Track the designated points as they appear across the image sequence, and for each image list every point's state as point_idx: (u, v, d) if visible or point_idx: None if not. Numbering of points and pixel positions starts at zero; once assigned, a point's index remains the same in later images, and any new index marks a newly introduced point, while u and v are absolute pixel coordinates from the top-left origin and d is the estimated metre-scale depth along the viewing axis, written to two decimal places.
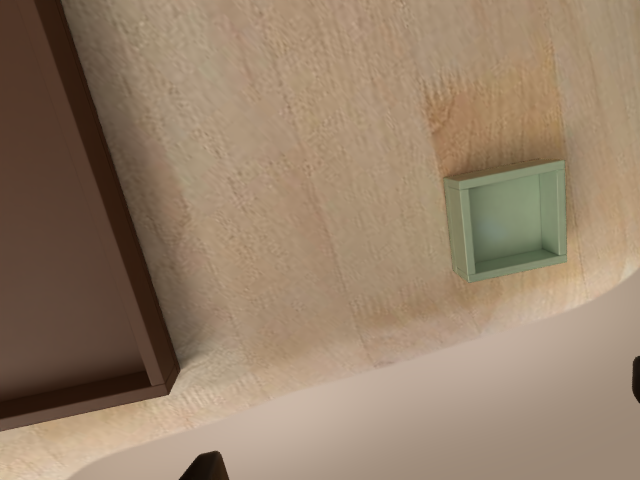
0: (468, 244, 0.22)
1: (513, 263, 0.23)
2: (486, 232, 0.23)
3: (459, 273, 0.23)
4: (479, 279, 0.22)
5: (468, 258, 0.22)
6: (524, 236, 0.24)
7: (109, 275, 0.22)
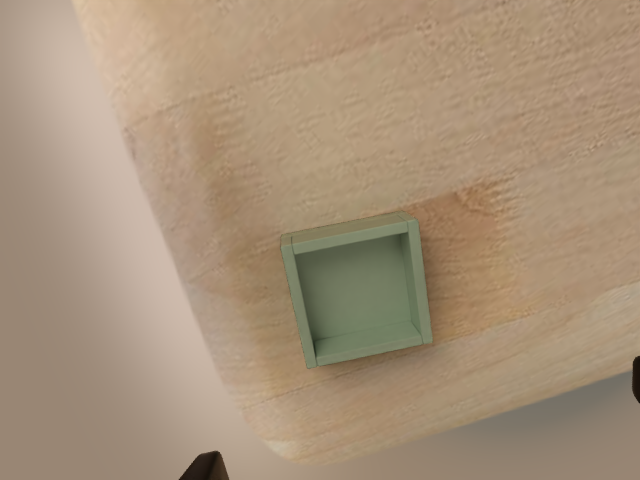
0: (335, 240, 0.16)
1: (304, 304, 0.17)
2: (336, 269, 0.18)
3: (285, 239, 0.17)
4: (285, 260, 0.16)
5: (315, 242, 0.16)
6: (329, 317, 0.19)
7: None
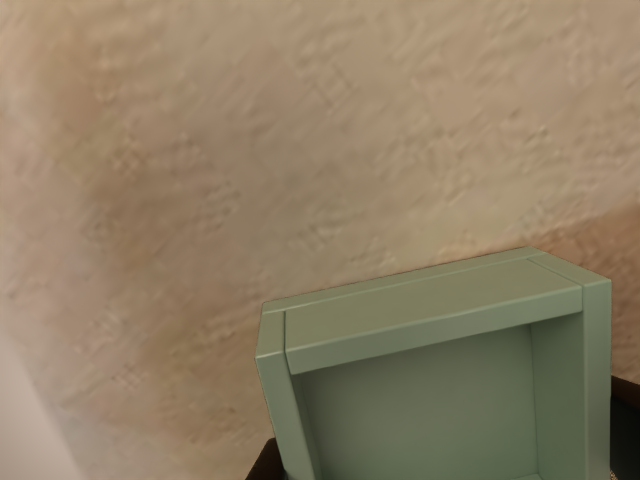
0: (398, 337, 0.06)
1: (316, 478, 0.07)
2: (386, 378, 0.08)
3: (269, 321, 0.07)
4: (269, 390, 0.06)
5: (347, 344, 0.06)
6: (369, 473, 0.09)
7: None
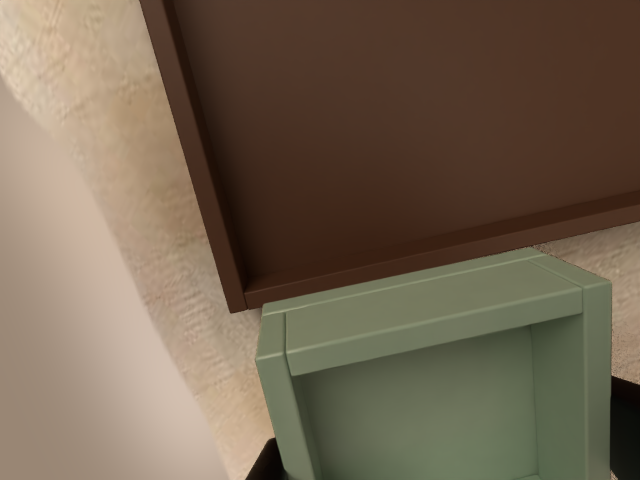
0: (398, 339, 0.06)
1: (317, 479, 0.07)
2: (386, 380, 0.08)
3: (269, 322, 0.07)
4: (269, 392, 0.06)
5: (347, 345, 0.06)
6: (369, 474, 0.09)
7: (374, 223, 0.18)
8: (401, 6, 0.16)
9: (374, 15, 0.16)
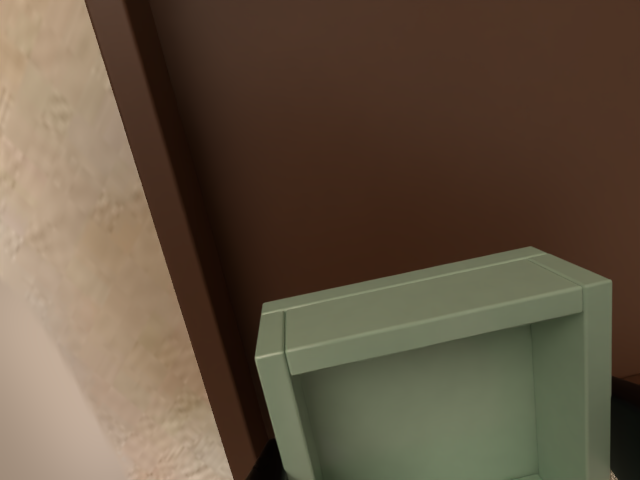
0: (398, 338, 0.06)
1: (316, 479, 0.07)
2: (386, 379, 0.08)
3: (269, 322, 0.07)
4: (269, 390, 0.06)
5: (347, 344, 0.06)
6: (369, 474, 0.09)
7: None
8: (508, 99, 0.11)
9: (469, 112, 0.11)
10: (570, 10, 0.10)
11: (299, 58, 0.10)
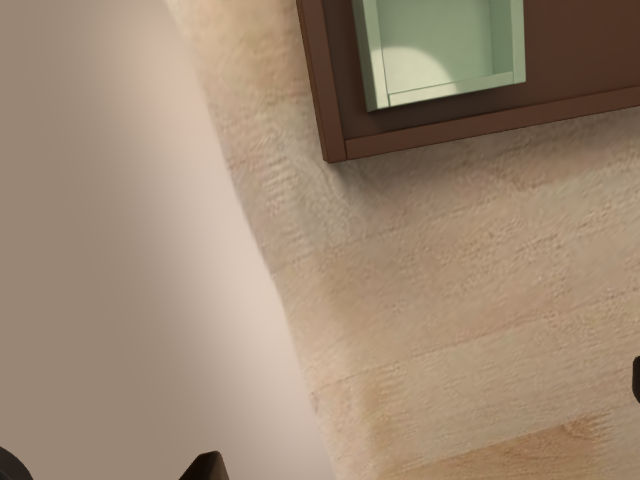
0: None
1: None
2: (410, 2, 0.16)
3: None
4: None
5: None
6: (399, 67, 0.16)
7: None
8: None
9: None
10: None
11: None
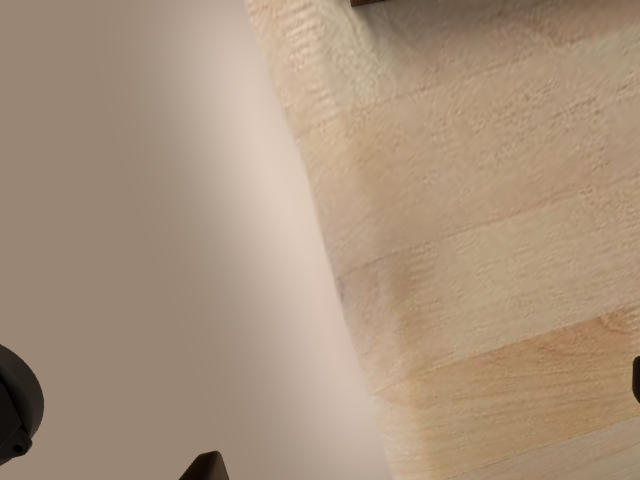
0: None
1: None
2: None
3: None
4: None
5: None
6: None
7: None
8: None
9: None
10: None
11: None
